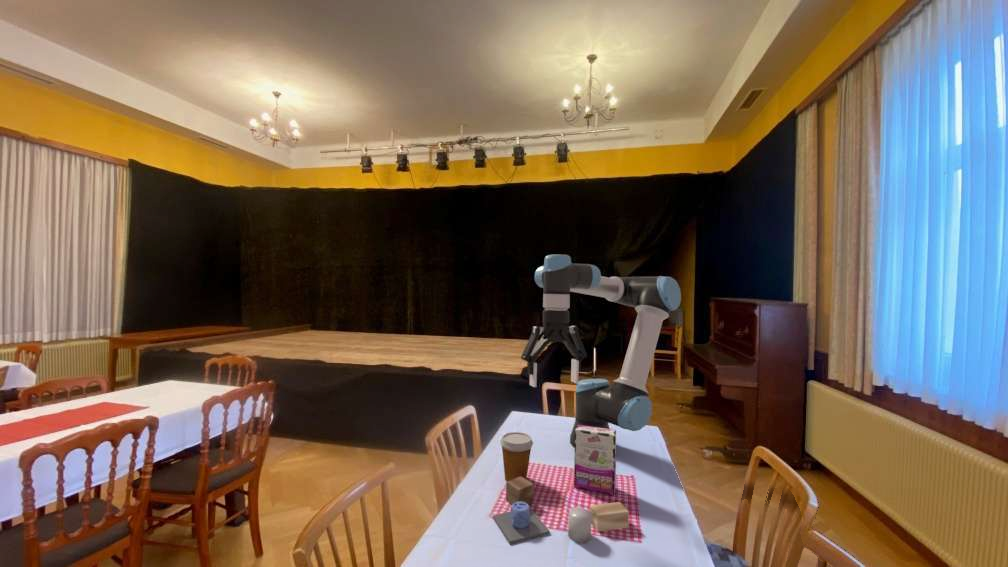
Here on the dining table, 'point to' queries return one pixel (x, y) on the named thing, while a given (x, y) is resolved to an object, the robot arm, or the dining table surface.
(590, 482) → the candy bar box
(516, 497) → the walnut cube
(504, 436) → the disposable coffee cup
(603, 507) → the maple bar
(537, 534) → the slate coaster
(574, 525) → the grey plastic cylinder
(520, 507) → the decorative dice
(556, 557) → the dining table surface
